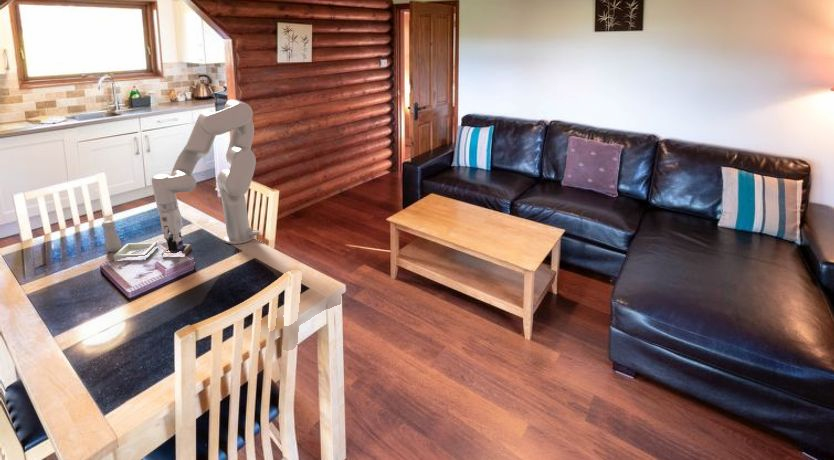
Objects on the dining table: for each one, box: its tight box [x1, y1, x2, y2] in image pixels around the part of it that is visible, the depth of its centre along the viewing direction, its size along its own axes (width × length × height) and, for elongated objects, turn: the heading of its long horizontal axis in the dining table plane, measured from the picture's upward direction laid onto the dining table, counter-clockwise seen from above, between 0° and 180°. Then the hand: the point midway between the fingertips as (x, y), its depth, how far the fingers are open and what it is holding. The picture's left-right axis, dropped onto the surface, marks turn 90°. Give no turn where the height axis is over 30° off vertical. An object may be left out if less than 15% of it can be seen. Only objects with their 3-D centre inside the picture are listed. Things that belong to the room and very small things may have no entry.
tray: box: [113, 241, 158, 261], centre depth 200 cm, size 12×12×3 cm
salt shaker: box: [101, 220, 123, 253], centre depth 202 cm, size 6×6×13 cm
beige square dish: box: [161, 243, 192, 255], centre depth 201 cm, size 8×8×2 cm
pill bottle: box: [169, 232, 184, 252], centre depth 200 cm, size 5×5×9 cm
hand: (175, 246), depth 201 cm, fingers closed on pill bottle, 5 cm apart
